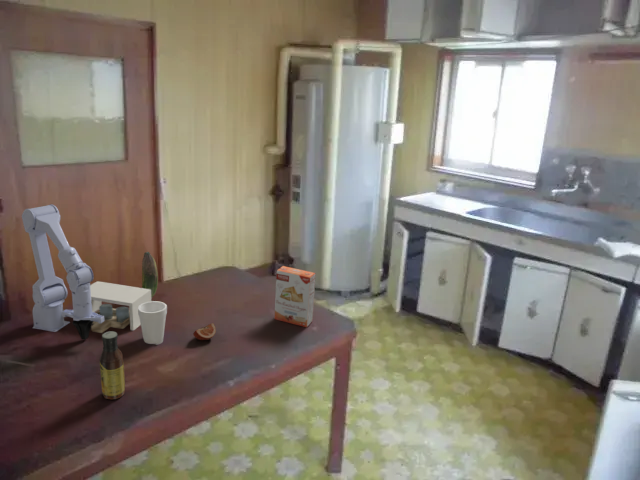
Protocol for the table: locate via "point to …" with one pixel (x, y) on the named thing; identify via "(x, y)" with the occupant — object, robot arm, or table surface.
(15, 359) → the table surface
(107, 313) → the pale blue rounded cylinder
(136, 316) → the shelf
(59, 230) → the robot arm
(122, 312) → the grey-blue tapered cylinder
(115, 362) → the sauce bottle
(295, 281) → the cracker box
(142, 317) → the foam cup
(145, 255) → the vegetable
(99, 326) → the serving board
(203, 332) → the fruit slice
